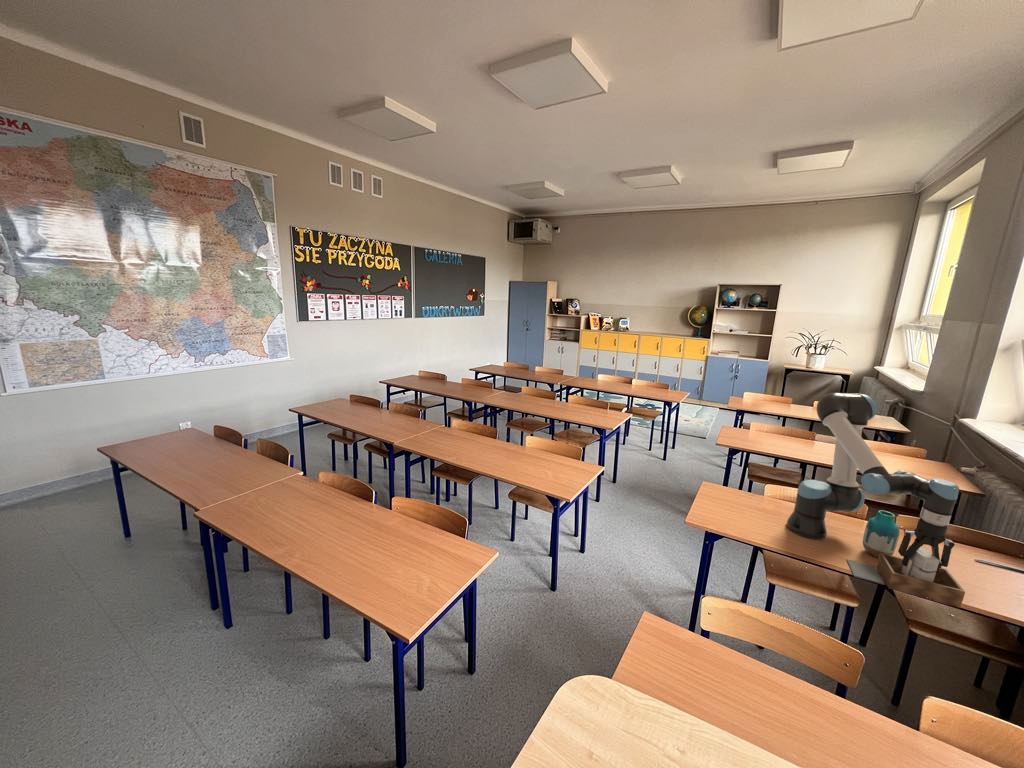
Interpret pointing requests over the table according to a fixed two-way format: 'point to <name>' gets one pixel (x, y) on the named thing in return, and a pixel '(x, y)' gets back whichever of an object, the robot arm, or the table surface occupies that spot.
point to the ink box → (923, 565)
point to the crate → (920, 582)
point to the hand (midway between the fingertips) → (916, 576)
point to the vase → (881, 534)
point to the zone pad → (865, 571)
